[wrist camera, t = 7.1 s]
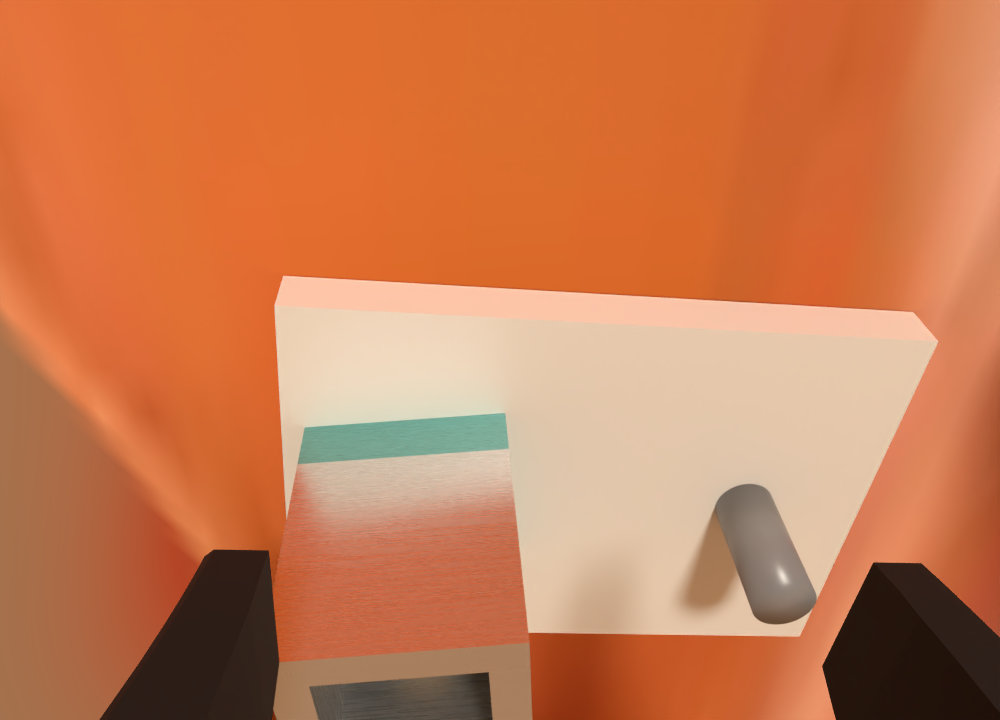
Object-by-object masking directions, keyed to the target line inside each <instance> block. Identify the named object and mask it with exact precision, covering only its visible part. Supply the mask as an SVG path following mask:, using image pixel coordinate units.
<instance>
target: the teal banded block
mask: <svg viewBox="0 0 1000 720" xmlns="http://www.w3.org/2000/svg"><path fill="white" fill-rule="evenodd" d="M273 600H274V611H275V621H276V632H277V642H278V652H279V669H278V677H277V684H276V692H275V700H274V707H273V710H274V713H275V716H276V719H277V720H532V698H531V671H530V644H529V634H528V624H527V615H526V605H525V596H524V586H523V577H522V567H521V558H520V548H519V539H518V530H517V520H516V511H515V501H514V492H513V482H512V473H511V463H510V454H509V444H508V435H507V425H506V416H505V413H498V414H484V415H470V416H456V417H442V418H428V419H414V420H400V421H386V422H373V423H359V424H345V425H331V426H317V427H305V428H304V433H303V438H302V443H301V449H300V454H299V459H298V464H297V469H296V474H295V479H294V484H293V489H292V494H291V499H290V504H289V510H288V515H287V520H286V525H285V530H284V535H283V540H282V545H281V550H280V555H279V560H278V566H277V571H276V576H275V581H274V586H273Z"/></svg>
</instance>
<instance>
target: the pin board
mask: <svg viewBox="0 0 1000 720" xmlns="http://www.w3.org/2000/svg"><path fill="white" fill-rule="evenodd" d="M275 324H276V342H277V360H278V378H279V396H280V413H281V431H282V449H283V467H284V485H285V503H286V520H287V515H288V510H289V504H290V499H291V494H292V489H293V484H294V479H295V474H296V469H297V464H298V459H299V454H300V449H301V443H302V438H303V433H304V428H305V427H317V426H331V425H345V424H359V423H373V422H386V421H400V420H414V419H428V418H442V417H456V416H470V415H484V414H498V413H505V416H506V425H507V435H508V444H509V454H510V463H511V473H512V482H513V492H514V501H515V511H516V520H517V530H518V539H519V548H520V558H521V567H522V577H523V586H524V596H525V605H526V615H527V624H528V633H590V634H661V635H733V636H800V634H801V632H802V630H803V628H804V626H805V624H806V622H807V620H808V617H809V615H810V613H811V611H812V609H813V607H814V605H815V603H816V600H817V598H818V596H819V594H820V592H821V590H822V588H823V586H824V583H825V581H826V579H827V577H828V575H829V573H830V571H831V569H832V566H833V564H834V562H835V560H836V558H837V556H838V554H839V552H840V549H841V547H842V545H843V543H844V541H845V539H846V537H847V535H848V532H849V530H850V528H851V526H852V524H853V522H854V520H855V518H856V515H857V513H858V511H859V509H860V507H861V505H862V503H863V501H864V498H865V496H866V494H867V492H868V490H869V488H870V486H871V484H872V481H873V479H874V477H875V475H876V473H877V471H878V469H879V467H880V464H881V462H882V460H883V458H884V456H885V454H886V452H887V450H888V447H889V445H890V443H891V441H892V439H893V437H894V435H895V433H896V430H897V428H898V426H899V424H900V422H901V420H902V418H903V416H904V413H905V411H906V409H907V407H908V405H909V403H910V401H911V399H912V396H913V394H914V392H915V390H916V388H917V386H918V384H919V382H920V379H921V377H922V375H923V373H924V371H925V369H926V367H927V365H928V362H929V360H930V358H931V356H932V354H933V352H934V350H935V348H936V345H937V343H938V340H937V339H936V338H935V337H934V336H933V335H932V333H931V332H930V331H929V330H928V329H927V328H926V326H925V325H924V324H923V323H922V322H921V321H920V320H919V318H918V317H917V316H916V315H915V314H914V313H913V312H903V311H886V310H869V309H851V308H834V307H816V306H799V305H782V304H764V303H747V302H730V301H712V300H695V299H677V298H660V297H643V296H625V295H608V294H591V293H573V292H556V291H538V290H521V289H504V288H486V287H469V286H452V285H434V284H417V283H400V282H382V281H365V280H347V279H330V278H313V277H295V276H283V279H282V282H281V285H280V289H279V292H278V295H277V299H276V302H275Z"/></svg>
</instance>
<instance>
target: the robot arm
mask: <svg viewBox="0 0 1000 720" xmlns="http://www.w3.org/2000/svg"><path fill="white" fill-rule="evenodd" d="M822 667H823V671H824V675H825V679H826V683H827V687H828V691H829V695H830V699H831V703H832V707H833V711H834V714H835V718H836V720H1000V637H999V636H998V635H997V634H995V633H994V632H993V631H992V630H991V629H990V628H989V627H988V626H987V625H986V624H985V623H984V622H983V621H982V620H981V619H980V618H979V617H978V616H977V615H976V614H975V613H974V612H973V611H972V610H971V609H970V608H969V607H967V606H966V605H965V604H964V603H963V602H962V601H961V600H960V599H959V598H958V597H957V596H956V595H955V594H954V593H953V592H952V591H951V590H950V589H949V588H947V587H946V586H945V585H944V584H943V583H942V582H941V581H940V580H939V579H938V578H937V577H936V576H935V575H933V574H932V573H931V572H930V571H929V570H928V569H927V568H926V567H925V566H924V565H922V564H921V563H873V565H872V567H871V569H870V571H869V573H868V575H867V577H866V579H865V581H864V583H863V585H862V587H861V589H860V591H859V593H858V595H857V597H856V599H855V601H854V603H853V605H852V607H851V609H850V611H849V613H848V615H847V617H846V619H845V621H844V623H843V625H842V627H841V629H840V631H839V633H838V635H837V637H836V639H835V641H834V644H833V646H832V648H831V650H830V652H829V654H828V656H827V658H826V660H825V662H824V664H823V666H822ZM278 669H279V652H278V642H277V632H276V621H275V611H274V600H273V590H272V580H271V569H270V559H269V551H260V550H213V551H211V552H210V553H209V554H207V555H206V556H205V557H204V559H203V560H202V562H201V564H200V566H199V568H198V569H197V571H196V573H195V575H194V577H193V579H192V580H191V582H190V584H189V585H188V587H187V589H186V590H185V592H184V594H183V595H182V597H181V599H180V600H179V602H178V604H177V605H176V607H175V608H174V610H173V612H172V613H171V615H170V616H169V618H168V620H167V621H166V623H165V625H164V626H163V628H162V629H161V631H160V632H159V634H158V635H157V637H156V638H155V640H154V641H153V643H152V645H151V646H150V647H149V649H148V651H147V652H146V654H145V655H144V657H143V658H142V660H141V661H140V663H139V664H138V666H137V667H136V669H135V670H134V671H133V673H132V674H131V676H130V677H129V678H128V680H127V681H126V683H125V684H124V686H123V687H122V688H121V690H120V692H119V693H118V694H117V696H116V697H115V699H114V700H113V702H112V703H111V704H110V706H109V707H108V708H107V710H106V711H105V713H104V714H103V716H102V717H101V718H100V720H272V715H273V707H274V700H275V692H276V684H277V677H278Z"/></svg>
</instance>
